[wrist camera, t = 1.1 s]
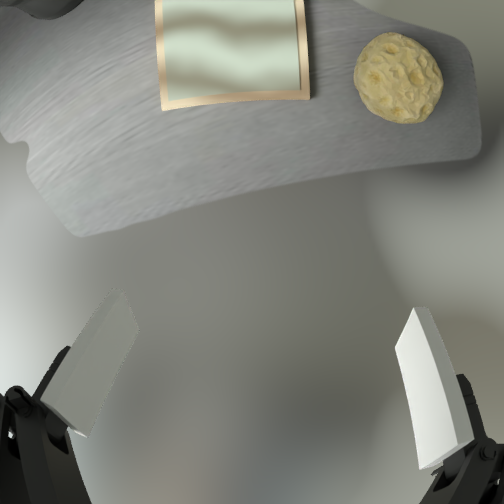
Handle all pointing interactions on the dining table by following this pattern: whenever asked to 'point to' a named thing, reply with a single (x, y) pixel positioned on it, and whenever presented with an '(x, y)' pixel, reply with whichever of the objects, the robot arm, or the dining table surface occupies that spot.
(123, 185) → the dining table surface
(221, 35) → the board
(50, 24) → the dining table surface
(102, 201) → the dining table surface
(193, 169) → the dining table surface
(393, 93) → the decorative item
